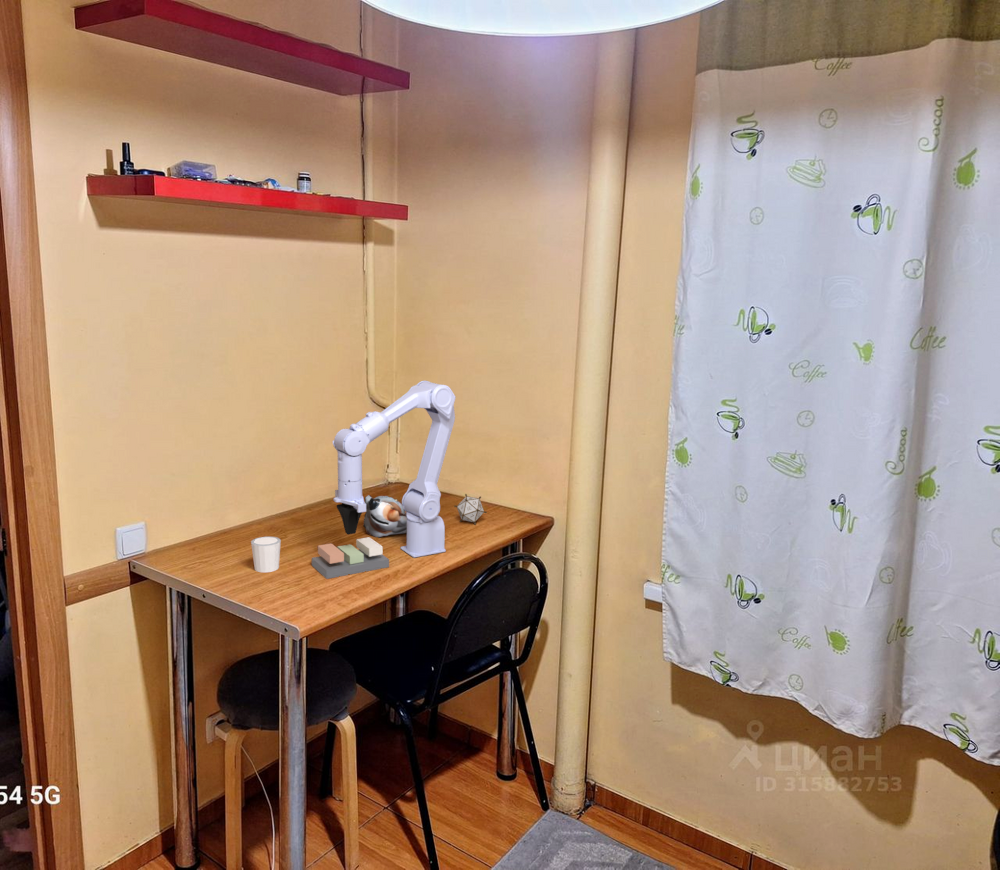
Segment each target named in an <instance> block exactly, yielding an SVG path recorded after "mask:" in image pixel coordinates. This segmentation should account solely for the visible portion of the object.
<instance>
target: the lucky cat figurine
mask: <svg viewBox="0 0 1000 870" xmlns="http://www.w3.org/2000/svg"><path fill="white" fill-rule="evenodd" d="M364 502H365V503H366V512H364V513H365V514H364V515H363V516H364V518H363V525H362V526H363V527H364V529H365V531H366V534H367V535H369V534H370V536H373V537H375V538H377V537H378V538H381V537H387V536H391V535H400V534H407V516H406V511H405V510H404V509H403V507H402V502H400V501H399V500H398V499H397V498H393V497H392V496H391V497H390V496H388V495H378V496H376V497H373V496H371V495H369V494H368V495H366V496H365V497H364Z"/></svg>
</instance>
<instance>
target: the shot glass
mask: <svg viewBox="0 0 1000 870" xmlns="http://www.w3.org/2000/svg"><path fill="white" fill-rule="evenodd" d="M281 541H282V540H281V538H279V537H278V536H277V537H276V536H260V537H256V538H254V539H252V540H251V541H250V543H251V550H252V558H253V559H252V560H253V565H254V571H256V572H259V573H271V572H275V571H277V570H278V569H280V556H281V555H280V554H281Z"/></svg>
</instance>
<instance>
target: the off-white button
mask: <svg viewBox="0 0 1000 870" xmlns="http://www.w3.org/2000/svg"><path fill="white" fill-rule="evenodd" d="M355 541H356V542H355V543H356V544H355V545H356V547H355V548H356V549H358V550H359V549H360V550H361V551H362V552H364V553H365V554H366V555H368V556H369V557H370V556H376V555H384V554H383V553H384V552H383V548H384V547H383V546H382V545H381V544H380V543H378V542H377V541H375V540H374V539H372V537H370V536H369V537H368V536H367V537H362V538H356V540H355Z"/></svg>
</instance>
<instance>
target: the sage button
mask: <svg viewBox="0 0 1000 870" xmlns="http://www.w3.org/2000/svg"><path fill="white" fill-rule="evenodd" d="M336 547H337V548H338V549H339V550H340V551H342V552H343V553H344V560H345V561H346V562H348V563H349V564H355V563H360V562H364V554H363V553H362V552H360V551H359V549H358V548H357V547H355V546H354V545H352V544H350V543H349V544H344V545H338V546H336Z"/></svg>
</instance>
